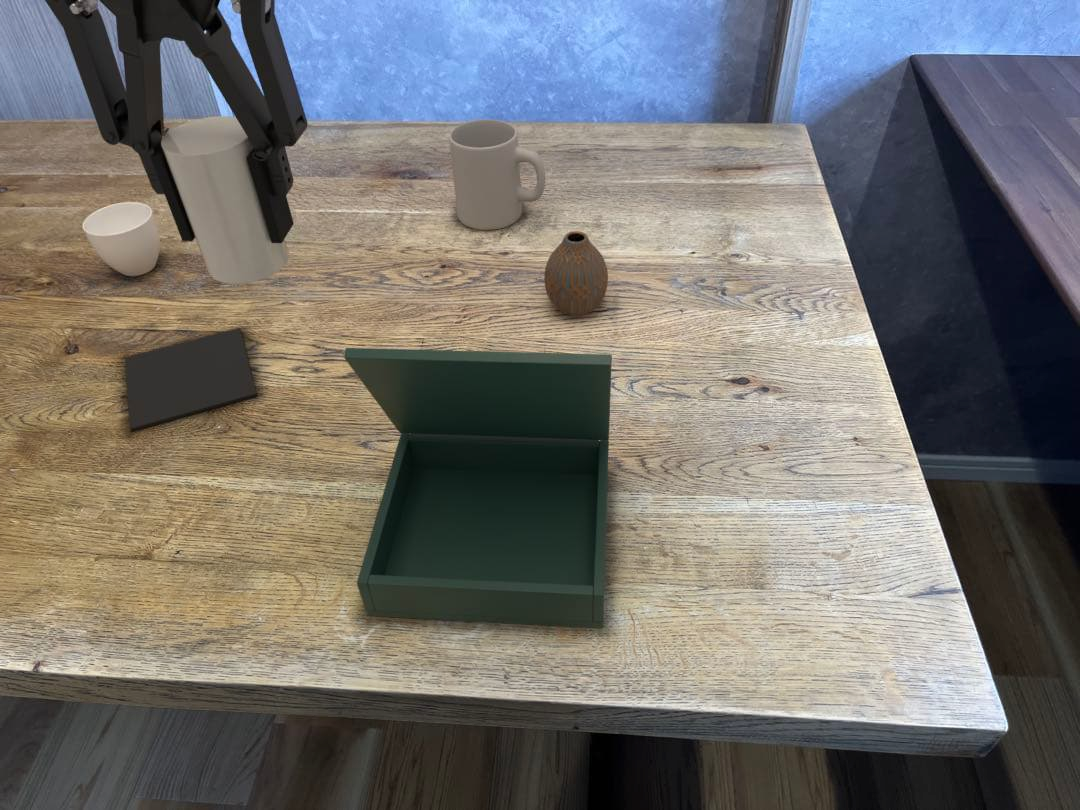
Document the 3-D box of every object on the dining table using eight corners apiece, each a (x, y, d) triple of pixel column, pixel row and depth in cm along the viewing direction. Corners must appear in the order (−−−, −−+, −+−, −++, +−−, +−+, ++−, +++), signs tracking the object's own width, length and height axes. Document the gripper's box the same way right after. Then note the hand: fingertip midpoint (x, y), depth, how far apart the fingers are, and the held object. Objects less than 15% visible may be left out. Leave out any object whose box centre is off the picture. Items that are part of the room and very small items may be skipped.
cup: (125, 292, 96) (103, 242, 92) (84, 264, 101) (60, 215, 97) (183, 263, 100) (164, 214, 96) (140, 238, 105) (120, 190, 101)
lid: (611, 365, 54) (611, 354, 54) (343, 358, 55) (345, 347, 55) (608, 440, 69) (609, 431, 69) (399, 433, 70) (400, 424, 71)
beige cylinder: (237, 294, 58) (192, 163, 52) (191, 265, 61) (143, 138, 55) (305, 257, 62) (270, 130, 55) (258, 232, 65) (220, 108, 58)
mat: (257, 396, 82) (256, 393, 81) (131, 431, 78) (129, 428, 78) (241, 330, 90) (240, 327, 90) (126, 360, 87) (124, 357, 86)
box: (603, 628, 61) (604, 595, 58) (366, 616, 62) (356, 582, 59) (607, 474, 72) (608, 439, 69) (408, 466, 74) (401, 432, 71)
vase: (570, 331, 88) (570, 262, 82) (533, 302, 92) (529, 234, 86) (619, 308, 90) (622, 239, 85) (581, 281, 95) (581, 213, 89)
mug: (447, 226, 105) (437, 144, 98) (471, 194, 111) (463, 115, 103) (536, 238, 102) (532, 155, 95) (555, 205, 108) (553, 124, 101)
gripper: (307, -161, 46) (377, 208, 61) (-8, -153, 48) (139, 204, 63) (260, -135, 40) (351, 263, 56) (-93, -126, 42) (90, 257, 58)
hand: (238, 231), depth 60 cm, fingers closed on beige cylinder, 6 cm apart
